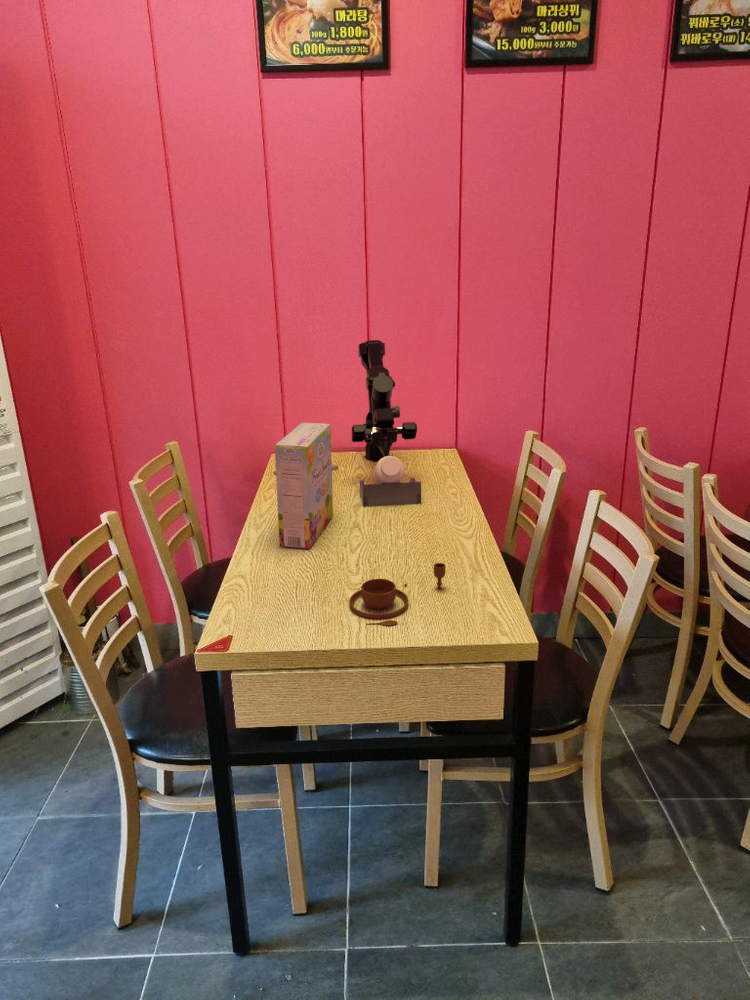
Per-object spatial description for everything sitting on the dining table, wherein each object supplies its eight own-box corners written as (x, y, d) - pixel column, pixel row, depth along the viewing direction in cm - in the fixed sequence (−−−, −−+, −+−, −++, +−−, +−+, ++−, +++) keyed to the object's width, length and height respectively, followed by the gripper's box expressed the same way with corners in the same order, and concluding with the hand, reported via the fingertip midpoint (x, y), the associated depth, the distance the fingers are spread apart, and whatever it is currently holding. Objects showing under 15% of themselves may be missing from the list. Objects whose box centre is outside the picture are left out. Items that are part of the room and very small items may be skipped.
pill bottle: (369, 488, 213) (373, 475, 198) (376, 462, 215) (381, 447, 200) (395, 496, 213) (401, 483, 199) (403, 469, 215) (409, 456, 200)
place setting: (352, 587, 160) (351, 562, 158) (445, 586, 159) (445, 561, 157) (347, 629, 143) (346, 602, 141) (451, 628, 143) (451, 601, 141)
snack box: (313, 550, 177) (307, 446, 168) (278, 548, 178) (270, 445, 169) (336, 516, 197) (331, 421, 188) (304, 515, 198) (298, 421, 189)
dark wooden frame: (359, 490, 215) (359, 470, 213) (414, 487, 216) (414, 467, 214) (363, 506, 203) (362, 486, 201) (421, 503, 204) (421, 482, 202)
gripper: (350, 397, 210) (354, 446, 204) (416, 394, 212) (422, 442, 205) (349, 417, 221) (353, 464, 214) (412, 414, 222) (418, 461, 216)
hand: (386, 458), depth 212 cm, fingers closed
